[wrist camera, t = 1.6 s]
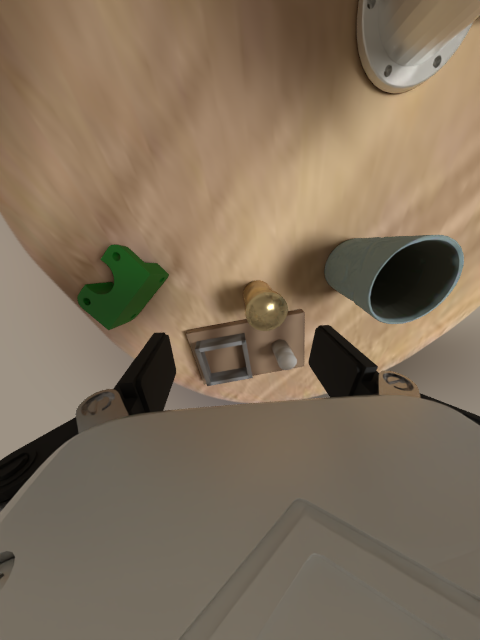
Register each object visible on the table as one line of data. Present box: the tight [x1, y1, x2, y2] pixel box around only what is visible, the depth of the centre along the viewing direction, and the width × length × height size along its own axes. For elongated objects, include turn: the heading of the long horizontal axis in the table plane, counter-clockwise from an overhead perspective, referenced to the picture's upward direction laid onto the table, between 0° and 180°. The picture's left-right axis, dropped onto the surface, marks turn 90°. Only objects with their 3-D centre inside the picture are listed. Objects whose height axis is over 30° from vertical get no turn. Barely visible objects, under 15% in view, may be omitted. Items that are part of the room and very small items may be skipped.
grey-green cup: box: [324, 235, 464, 324], centre depth 24 cm, size 10×10×12 cm
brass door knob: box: [243, 280, 288, 331], centre depth 27 cm, size 6×6×8 cm
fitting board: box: [186, 309, 305, 386], centre depth 33 cm, size 22×13×6 cm, turn 99°
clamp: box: [78, 245, 169, 330], centre depth 26 cm, size 12×6×9 cm, turn 129°
